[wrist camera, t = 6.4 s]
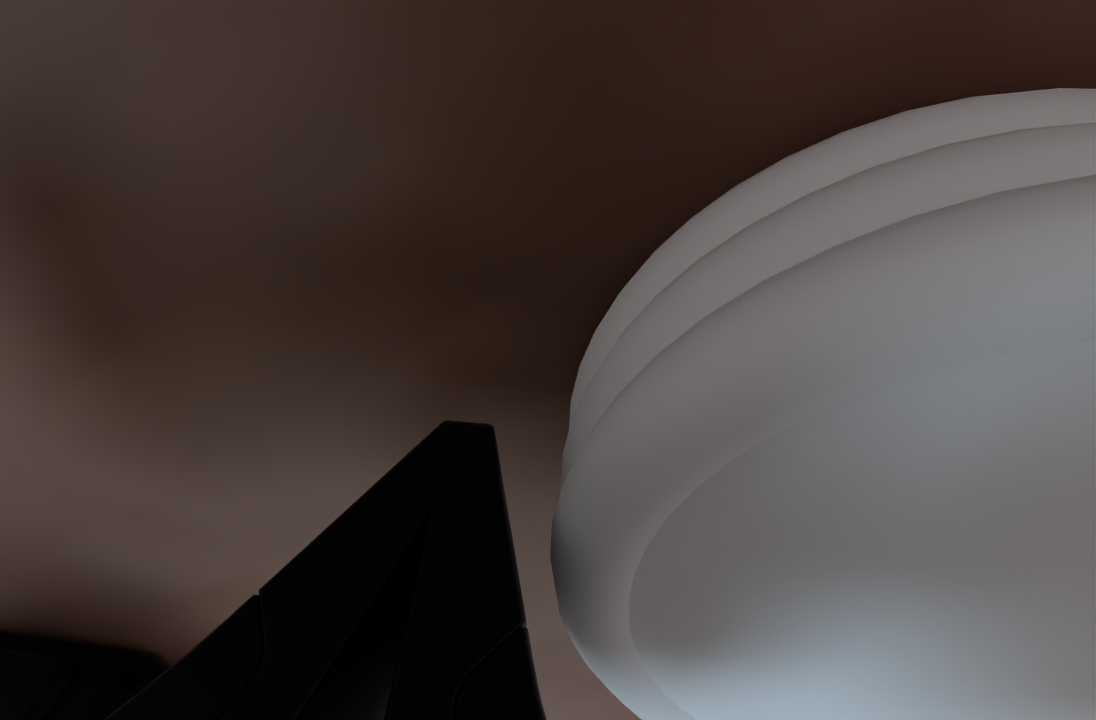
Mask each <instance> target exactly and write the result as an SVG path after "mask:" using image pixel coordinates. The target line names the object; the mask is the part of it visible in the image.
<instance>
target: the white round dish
mask: <svg viewBox="0 0 1096 720" xmlns="http://www.w3.org/2000/svg"><path fill="white" fill-rule="evenodd" d="M550 558H551V564H552V570H553V576H554V582H555V588H556V594H557V600H558V605H559V611H560V614H561V616H562V619H563V621H564V624H565V627H566V629H567V632H568V634H569V637H570V639H571V641H572V643H573V644H574V646H575V647H576V649H577V651H578V652H579V654H580V655H581V657H582V658H583V660H584V661H585V663H586V665H587V666H588V667H589V668H590V669H591V670H592V672H593V673H594V674H595V675H596V676H597V677H598V678H599V679H600V680H601V682H602V683H603V684H604V685H605V686H606V687H607V688H608V689H609V690H610V691H611V692H612V693H613V694H614V695H615V696H616V697H617V698H618V699H619V700H620V701H621V702H622V703H623V704H624V705H625V706H626V707H627V708H629V709H630V710H631V711H632V712H633V713H634V714H636V715H637V716H638V717H639V718H640V719H642V720H1096V89H1078V88H1056V89H1046V90H1035V91H1025V92H1015V93H1005V94H995V95H985V96H975V97H968V98H964V99H959V100H954V101H950V102H945V103H940V104H936V105H931V106H926V107H922V108H917V109H913V110H908V111H904V112H901V113H898V114H895V115H892V116H889V117H886V118H883V119H880V120H877V121H874V122H871V123H868V124H865V125H862V126H859V127H856V128H853V129H850V130H847V131H844V132H841V133H839V134H837V135H834V136H832V137H830V138H828V139H826V140H823V141H821V142H819V143H817V144H814V145H812V146H810V147H808V148H805V149H803V150H801V151H799V152H797V153H794V154H792V155H790V156H788V157H786V158H784V159H782V160H780V161H778V162H777V163H775V164H773V165H771V166H770V167H768V168H766V169H764V170H763V171H761V172H759V173H757V174H756V175H754V176H752V177H750V178H749V179H747V180H745V181H743V182H742V183H740V184H738V185H736V186H735V187H733V188H732V189H730V190H729V191H728V192H726V193H725V194H724V195H722V196H721V197H719V198H718V199H717V200H715V201H714V202H712V203H711V204H710V205H708V206H707V207H705V208H704V209H703V210H701V211H700V212H698V213H697V214H696V215H694V216H693V217H692V218H690V219H689V220H688V221H687V222H686V223H685V224H684V225H683V226H682V227H681V228H679V229H678V230H677V231H676V232H675V233H674V234H673V235H672V236H671V237H670V238H668V239H667V240H666V241H665V242H664V243H663V244H662V245H661V246H660V247H659V248H658V249H656V250H655V251H654V253H653V254H652V255H651V256H650V257H649V258H648V260H647V261H646V262H645V263H644V264H643V265H642V267H641V268H640V269H639V270H638V271H637V272H636V274H635V275H634V276H633V277H632V278H631V280H630V281H629V282H628V283H627V284H626V285H625V287H624V288H623V289H622V291H621V292H620V293H619V294H618V296H617V298H616V299H615V301H614V302H613V304H612V305H611V307H610V309H609V310H608V312H607V313H606V315H605V316H604V318H603V319H602V321H601V323H600V324H599V326H598V327H597V329H596V330H595V332H594V335H593V337H592V339H591V341H590V344H589V346H588V348H587V350H586V353H585V355H584V357H583V359H582V362H581V364H580V366H579V370H578V374H577V378H576V382H575V386H574V390H573V394H572V398H571V404H570V419H569V432H568V435H567V439H566V443H565V447H564V451H563V456H562V472H561V492H560V496H559V499H558V503H557V507H556V510H555V514H554V518H553V521H552V536H551V555H550Z"/></svg>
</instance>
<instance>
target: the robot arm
mask: <svg viewBox="0 0 1096 720" xmlns="http://www.w3.org/2000/svg"><path fill="white" fill-rule="evenodd" d="M0 720H546V716H545V713H544V709H543V705H542V702H541V697H540V692H539V687H538V682H537V677H536V673H535V668H534V663H533V658H532V652H531V646H530V640H529V634H528V629H527V628H526V617H525V611H524V605H523V599H522V593H521V587H520V581H519V575H518V569H517V563H516V557H515V551H514V545H513V539H512V533H511V527H510V521H509V515H508V509H507V503H506V497H505V491H504V485H503V479H502V473H501V467H500V461H499V455H498V449H497V443H496V437H495V431H494V427H493V426H492V425H491V424H484V423H473V422H462V421H451V420H447V421H444V422H442V423H441V424H440V425H439V426H438V427H436V428H435V429H434V430H433V431H432V432H431V433H430V434H429V435H428V436H427V437H426V438H424V439H423V440H422V441H421V442H420V443H419V444H418V445H417V446H416V447H415V448H414V449H412V450H411V451H410V452H409V453H408V454H407V455H406V456H405V457H404V458H403V459H402V460H400V461H399V462H398V463H397V464H396V465H395V466H394V467H393V468H392V469H391V470H389V471H388V472H387V473H386V474H385V475H384V476H383V477H382V478H381V479H380V480H379V481H377V482H376V483H375V484H374V485H373V486H372V487H371V488H370V489H369V490H368V491H367V492H365V493H364V494H363V495H362V496H361V497H360V498H359V499H358V500H357V501H356V502H355V503H353V504H352V505H351V506H350V507H349V508H348V509H347V510H346V511H345V512H344V513H343V514H341V515H340V516H339V517H338V518H337V519H336V520H335V521H334V522H333V523H332V524H330V525H329V526H328V527H327V528H326V529H325V530H324V531H323V532H322V533H321V534H320V535H318V536H317V537H316V538H315V539H314V540H313V541H312V542H311V543H310V544H309V545H308V546H306V547H305V548H304V549H303V550H302V551H301V552H300V553H299V554H298V555H297V556H296V557H294V558H293V559H292V560H291V561H290V562H289V563H288V564H287V565H286V566H285V567H284V568H282V569H281V570H280V571H279V572H278V573H277V574H276V575H275V576H274V577H273V578H271V579H270V580H269V581H268V582H267V583H266V584H265V585H264V586H263V587H262V588H261V589H260V590H259V596H258V595H253V596H251V597H250V598H249V599H248V600H247V601H246V602H245V603H244V604H243V605H242V606H241V607H239V608H238V609H237V610H236V611H235V612H234V613H233V614H232V615H231V616H230V617H229V618H227V619H226V620H225V621H224V622H223V623H222V624H221V625H219V626H218V627H217V628H216V629H215V630H214V631H213V632H211V633H210V634H209V635H208V636H207V637H206V638H205V639H203V640H202V641H201V642H200V643H199V644H198V645H197V646H195V647H194V648H193V649H192V650H191V651H190V652H189V653H187V654H186V655H185V656H184V657H182V658H181V659H180V660H179V661H177V662H176V663H175V664H174V665H172V666H171V667H170V668H169V669H167V670H166V671H165V672H164V671H163V669H162V668H161V667H160V666H159V665H158V664H156V663H155V662H153V661H151V660H148V659H146V658H142V657H138V656H131V655H124V654H117V653H110V652H103V651H96V650H89V649H83V648H76V647H69V646H62V645H55V644H48V643H41V642H34V641H27V640H20V639H13V638H6V637H0Z"/></svg>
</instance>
